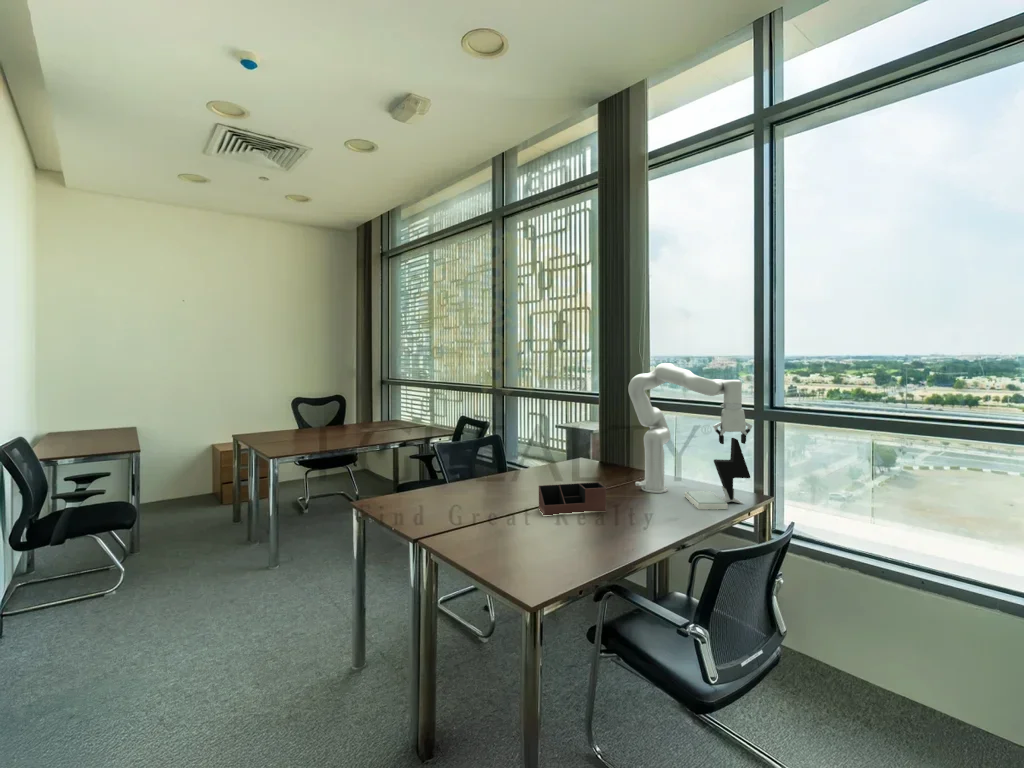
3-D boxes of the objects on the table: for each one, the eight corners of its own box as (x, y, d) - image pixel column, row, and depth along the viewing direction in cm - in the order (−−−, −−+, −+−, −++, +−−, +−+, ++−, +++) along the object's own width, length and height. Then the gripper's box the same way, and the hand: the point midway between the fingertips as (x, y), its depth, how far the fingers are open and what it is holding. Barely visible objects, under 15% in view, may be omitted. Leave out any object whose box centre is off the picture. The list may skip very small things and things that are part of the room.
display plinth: (697, 509, 217) (698, 502, 217) (684, 497, 236) (684, 491, 236) (727, 509, 216) (727, 502, 216) (712, 497, 235) (712, 491, 235)
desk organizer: (607, 512, 215) (607, 487, 214) (543, 517, 210) (542, 491, 209) (599, 505, 225) (599, 481, 225) (537, 510, 220) (537, 485, 219)
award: (746, 500, 229) (747, 437, 227) (750, 504, 224) (751, 439, 222) (712, 500, 230) (713, 437, 229) (716, 503, 225) (717, 439, 223)
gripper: (716, 407, 221) (716, 445, 222) (755, 407, 220) (755, 444, 221) (710, 406, 228) (710, 442, 229) (748, 405, 227) (748, 441, 228)
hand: (732, 443), depth 225 cm, fingers open, 9 cm apart
